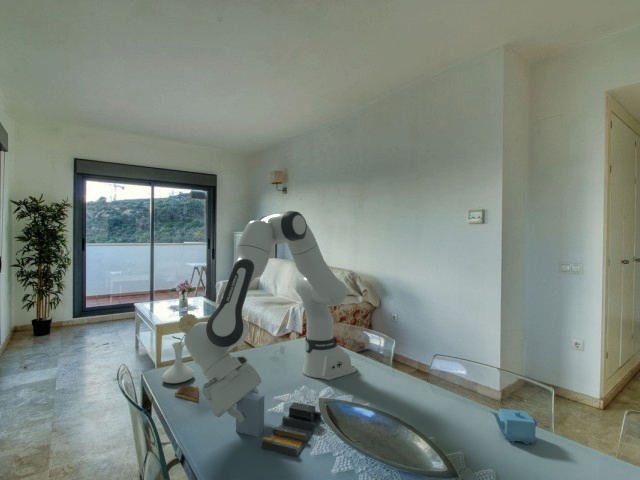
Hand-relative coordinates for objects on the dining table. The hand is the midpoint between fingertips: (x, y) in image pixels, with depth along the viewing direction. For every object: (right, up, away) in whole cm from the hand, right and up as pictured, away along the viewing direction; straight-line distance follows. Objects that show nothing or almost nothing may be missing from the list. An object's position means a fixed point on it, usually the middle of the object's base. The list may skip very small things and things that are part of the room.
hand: (252, 411), depth 96 cm
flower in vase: (-34, -5, +33) cm, 48 cm away
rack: (+12, -6, 0) cm, 13 cm away
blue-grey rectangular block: (-1, -5, 0) cm, 5 cm away
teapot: (+73, -7, -1) cm, 73 cm away
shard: (-25, -6, +22) cm, 34 cm away
